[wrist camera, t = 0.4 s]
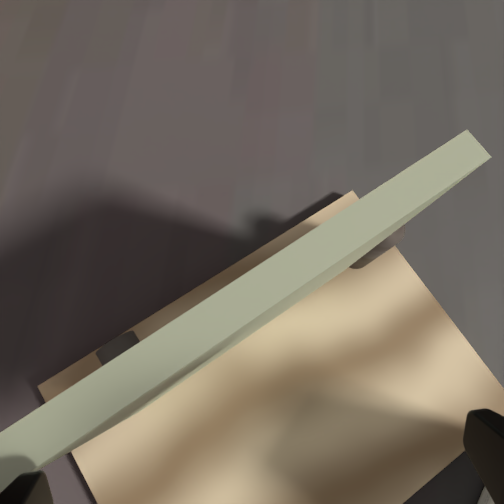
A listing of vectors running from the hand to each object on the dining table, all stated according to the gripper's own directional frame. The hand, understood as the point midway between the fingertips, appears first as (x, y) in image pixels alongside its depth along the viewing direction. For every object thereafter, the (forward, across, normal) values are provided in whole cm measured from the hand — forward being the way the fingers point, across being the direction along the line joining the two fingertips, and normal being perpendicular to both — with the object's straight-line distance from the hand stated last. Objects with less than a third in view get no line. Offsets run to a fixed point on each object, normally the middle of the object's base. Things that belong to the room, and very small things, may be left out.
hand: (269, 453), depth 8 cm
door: (+14, 0, +4) cm, 15 cm away
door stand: (+13, -3, +9) cm, 16 cm away
